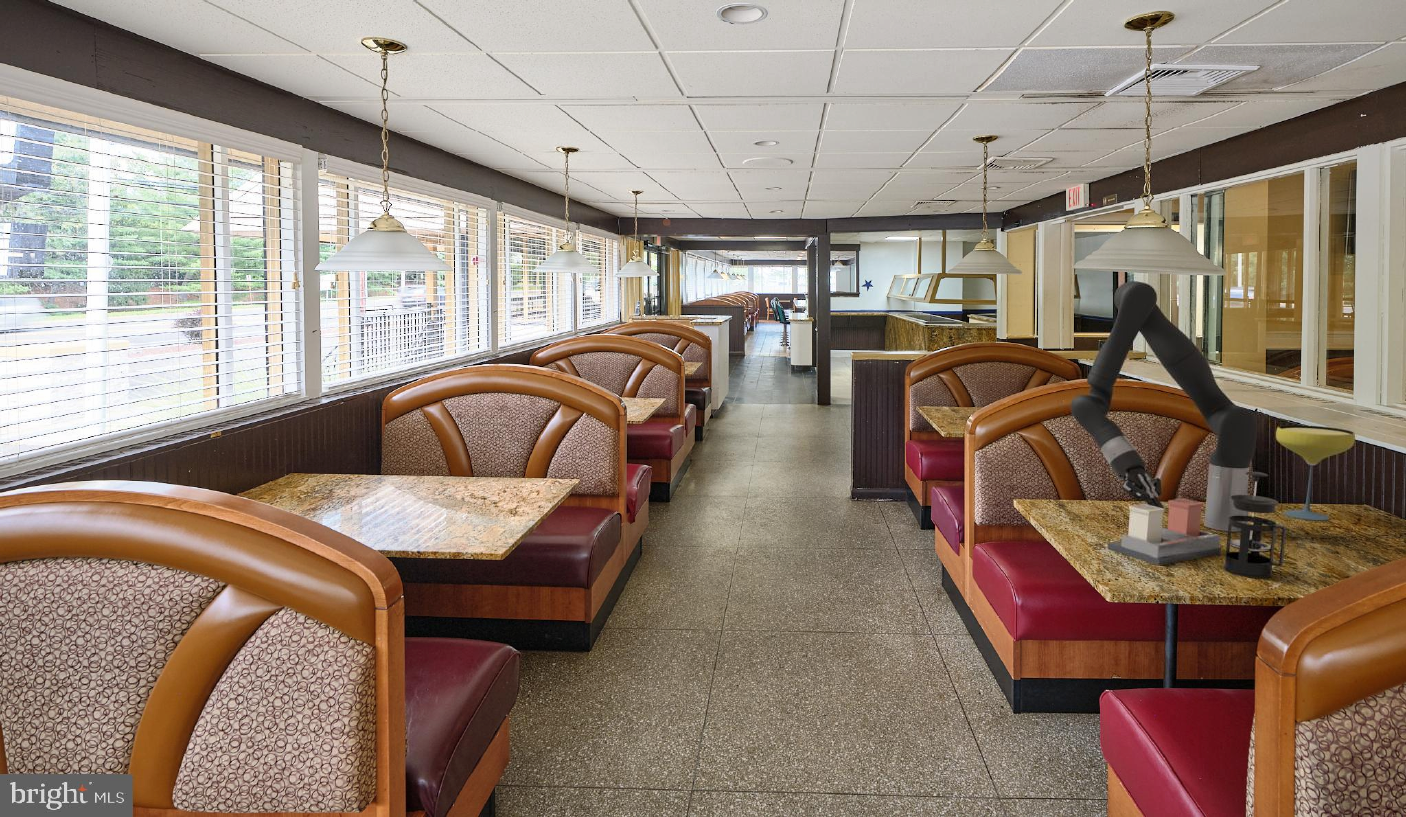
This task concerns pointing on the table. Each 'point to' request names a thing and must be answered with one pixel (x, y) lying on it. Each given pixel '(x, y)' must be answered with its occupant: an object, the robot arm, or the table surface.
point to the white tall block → (1146, 522)
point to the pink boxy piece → (1185, 516)
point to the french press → (1252, 536)
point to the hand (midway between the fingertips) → (1160, 512)
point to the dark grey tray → (1169, 547)
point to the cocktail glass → (1313, 453)
